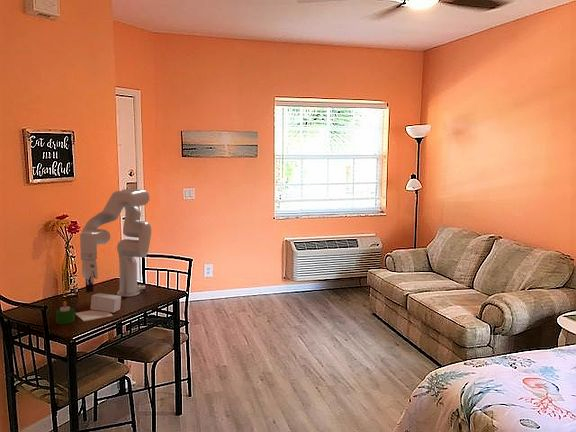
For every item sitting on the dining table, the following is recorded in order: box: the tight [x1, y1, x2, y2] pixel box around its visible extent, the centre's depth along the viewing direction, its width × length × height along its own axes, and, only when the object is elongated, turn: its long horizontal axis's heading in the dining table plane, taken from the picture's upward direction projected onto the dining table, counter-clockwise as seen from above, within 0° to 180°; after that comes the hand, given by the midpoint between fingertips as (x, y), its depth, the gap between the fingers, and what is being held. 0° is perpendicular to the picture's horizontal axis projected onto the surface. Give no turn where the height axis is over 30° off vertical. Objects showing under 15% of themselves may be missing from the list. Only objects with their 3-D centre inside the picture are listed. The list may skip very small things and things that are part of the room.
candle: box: [55, 300, 76, 325], centre depth 238 cm, size 8×8×10 cm
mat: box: [75, 309, 114, 322], centre depth 248 cm, size 14×13×1 cm
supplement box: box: [90, 292, 122, 314], centre depth 255 cm, size 7×7×13 cm
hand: (89, 291), depth 251 cm, fingers closed
